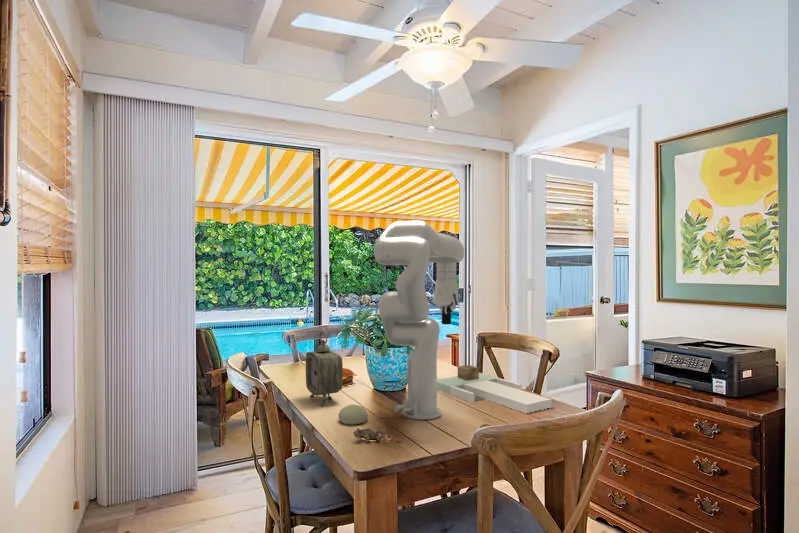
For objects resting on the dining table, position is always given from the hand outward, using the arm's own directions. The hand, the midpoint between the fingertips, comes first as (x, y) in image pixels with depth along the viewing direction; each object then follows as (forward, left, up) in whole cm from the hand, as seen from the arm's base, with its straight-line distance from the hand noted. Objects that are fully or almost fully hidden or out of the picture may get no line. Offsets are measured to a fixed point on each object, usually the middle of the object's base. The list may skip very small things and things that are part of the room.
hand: (446, 324), depth 188 cm
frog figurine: (-49, -29, -27) cm, 63 cm away
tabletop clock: (-45, +13, -26) cm, 54 cm away
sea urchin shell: (-46, -12, -26) cm, 54 cm away
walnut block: (+13, +3, -23) cm, 27 cm away
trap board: (+11, -14, -26) cm, 32 cm away
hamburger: (-29, +32, -26) cm, 51 cm away
